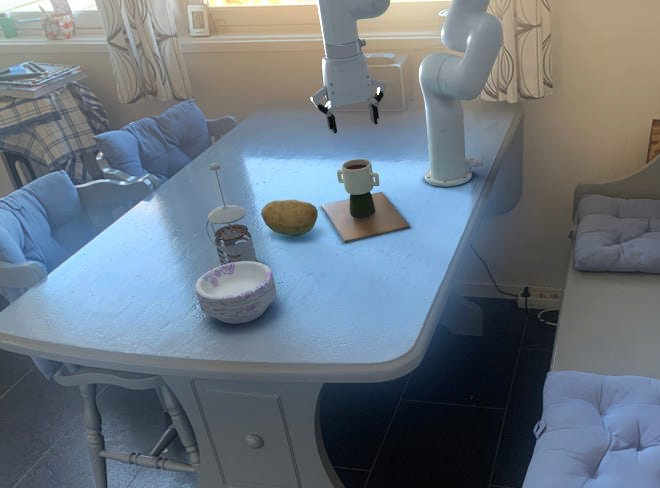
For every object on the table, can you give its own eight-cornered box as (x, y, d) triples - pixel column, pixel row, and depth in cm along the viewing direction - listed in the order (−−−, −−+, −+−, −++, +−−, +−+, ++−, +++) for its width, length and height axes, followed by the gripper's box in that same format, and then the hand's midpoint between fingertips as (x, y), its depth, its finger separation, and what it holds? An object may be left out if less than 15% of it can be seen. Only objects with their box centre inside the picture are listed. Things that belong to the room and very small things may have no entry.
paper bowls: (232, 287, 162) (223, 255, 158) (293, 298, 157) (286, 264, 152) (188, 326, 151) (178, 292, 147) (253, 338, 146) (244, 303, 141)
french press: (242, 286, 163) (214, 175, 148) (203, 274, 168) (172, 167, 153) (272, 265, 169) (248, 157, 154) (234, 255, 174) (207, 150, 160)
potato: (276, 221, 187) (270, 191, 182) (327, 227, 183) (322, 196, 178) (256, 239, 180) (249, 208, 175) (309, 245, 176) (303, 214, 171)
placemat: (381, 193, 196) (381, 191, 196) (409, 228, 179) (409, 225, 179) (322, 207, 192) (321, 204, 192) (345, 243, 175) (344, 240, 175)
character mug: (389, 210, 186) (383, 160, 179) (377, 223, 181) (370, 172, 173) (349, 206, 190) (342, 156, 182) (336, 219, 185) (328, 168, 177)
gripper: (375, 38, 168) (384, 114, 178) (299, 52, 164) (314, 130, 174) (385, 45, 162) (395, 124, 173) (307, 61, 158) (322, 140, 169)
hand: (354, 127), depth 174 cm, fingers open, 9 cm apart
